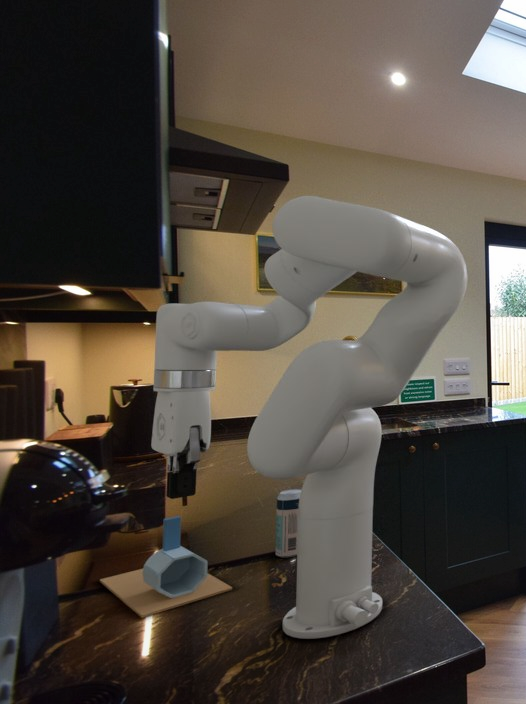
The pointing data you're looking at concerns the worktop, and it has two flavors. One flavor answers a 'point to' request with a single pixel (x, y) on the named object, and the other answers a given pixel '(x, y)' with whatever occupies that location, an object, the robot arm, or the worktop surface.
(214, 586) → the cork mat
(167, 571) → the pale-blue faceted part
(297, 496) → the white labelled bottle
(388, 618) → the worktop surface
